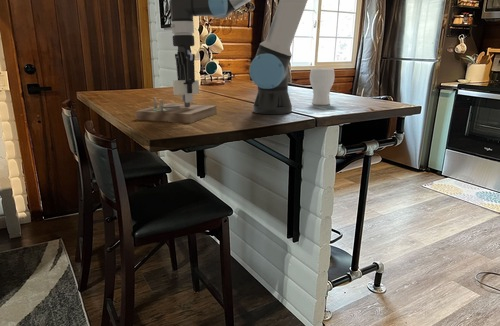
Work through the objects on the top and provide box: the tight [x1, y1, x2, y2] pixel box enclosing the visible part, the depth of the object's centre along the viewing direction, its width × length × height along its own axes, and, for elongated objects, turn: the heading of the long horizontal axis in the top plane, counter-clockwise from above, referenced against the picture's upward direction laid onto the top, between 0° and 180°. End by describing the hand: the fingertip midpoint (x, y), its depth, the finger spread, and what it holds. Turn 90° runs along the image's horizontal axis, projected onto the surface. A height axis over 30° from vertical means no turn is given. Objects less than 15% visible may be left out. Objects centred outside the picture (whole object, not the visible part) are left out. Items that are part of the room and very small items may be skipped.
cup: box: [309, 67, 336, 106], centre depth 167 cm, size 11×11×15 cm
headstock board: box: [135, 97, 218, 124], centre depth 141 cm, size 22×20×7 cm
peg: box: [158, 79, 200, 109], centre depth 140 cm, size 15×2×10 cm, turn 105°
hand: (187, 101), depth 142 cm, fingers closed on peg, 3 cm apart
